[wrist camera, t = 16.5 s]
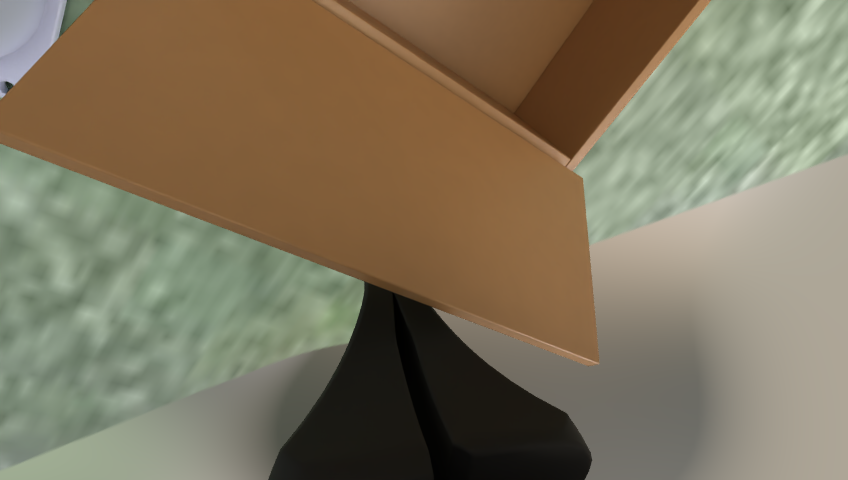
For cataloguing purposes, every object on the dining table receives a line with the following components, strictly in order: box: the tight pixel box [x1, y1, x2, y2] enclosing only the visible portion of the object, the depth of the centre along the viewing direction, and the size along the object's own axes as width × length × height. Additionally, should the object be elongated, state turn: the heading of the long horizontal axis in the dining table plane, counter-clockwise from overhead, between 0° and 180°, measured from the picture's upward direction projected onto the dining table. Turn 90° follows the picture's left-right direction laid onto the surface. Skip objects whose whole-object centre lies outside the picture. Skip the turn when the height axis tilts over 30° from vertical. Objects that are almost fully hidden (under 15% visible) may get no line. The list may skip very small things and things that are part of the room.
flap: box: [0, 0, 599, 366], centre depth 11 cm, size 7×14×1 cm
